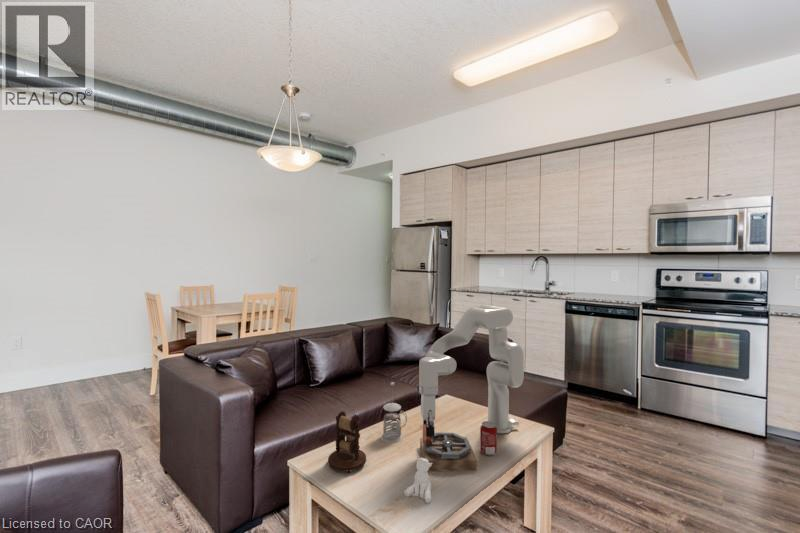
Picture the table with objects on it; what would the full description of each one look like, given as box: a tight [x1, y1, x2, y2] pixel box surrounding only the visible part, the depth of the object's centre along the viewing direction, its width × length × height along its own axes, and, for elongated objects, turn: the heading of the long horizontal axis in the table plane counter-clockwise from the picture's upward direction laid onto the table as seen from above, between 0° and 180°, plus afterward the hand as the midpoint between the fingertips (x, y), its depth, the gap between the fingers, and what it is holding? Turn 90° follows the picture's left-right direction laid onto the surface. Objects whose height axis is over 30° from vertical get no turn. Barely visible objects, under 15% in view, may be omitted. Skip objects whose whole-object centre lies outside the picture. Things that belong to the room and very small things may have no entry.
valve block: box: [419, 436, 478, 472], centre depth 154 cm, size 20×18×4 cm
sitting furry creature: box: [403, 456, 432, 504], centre depth 131 cm, size 10×9×12 cm
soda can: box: [479, 420, 498, 456], centre depth 158 cm, size 7×7×12 cm
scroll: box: [327, 411, 367, 474], centre depth 148 cm, size 15×15×20 cm
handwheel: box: [422, 423, 472, 458], centre depth 153 cm, size 19×18×9 cm
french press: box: [380, 381, 408, 443], centre depth 170 cm, size 10×12×25 cm
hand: (428, 430), depth 153 cm, fingers open, 9 cm apart
